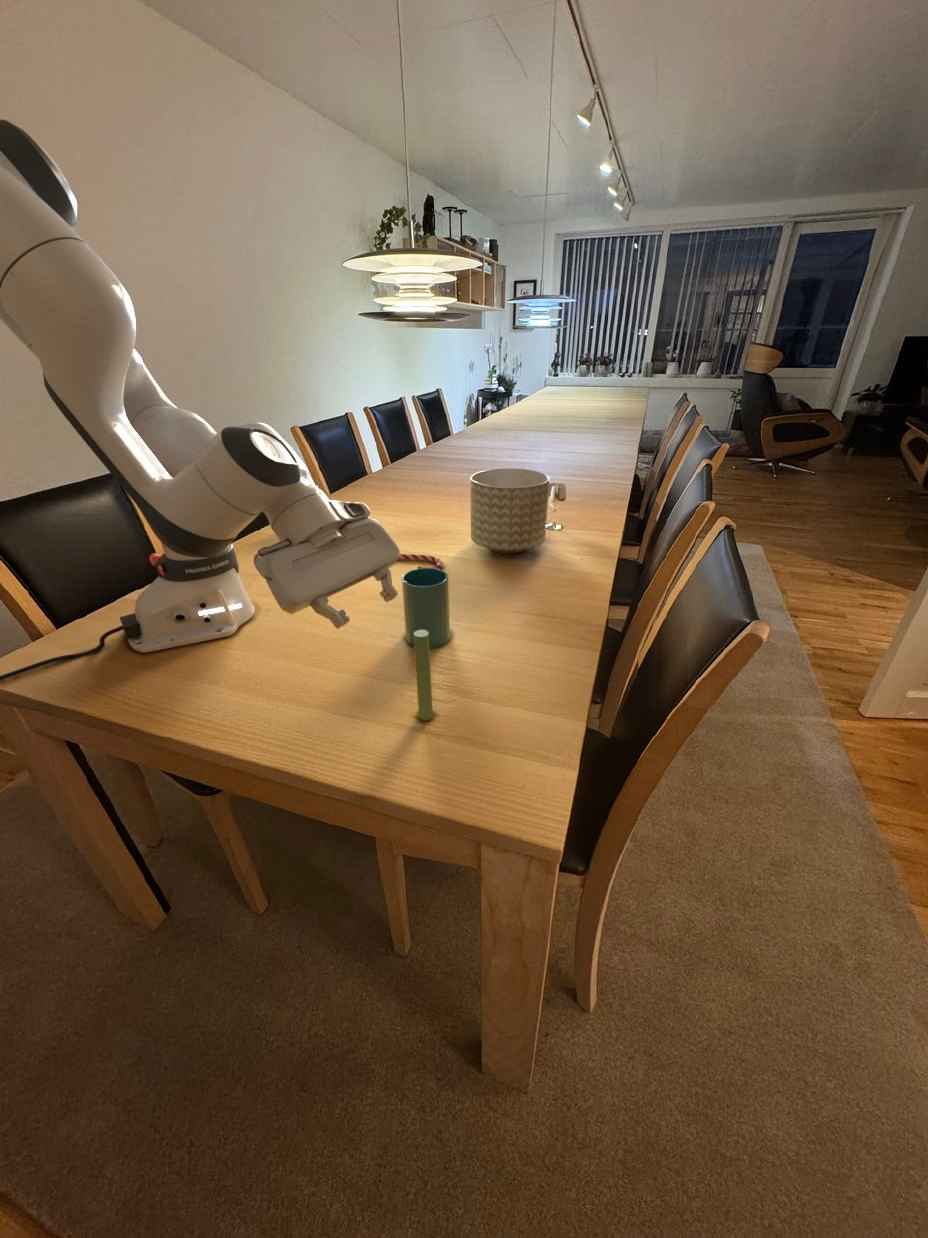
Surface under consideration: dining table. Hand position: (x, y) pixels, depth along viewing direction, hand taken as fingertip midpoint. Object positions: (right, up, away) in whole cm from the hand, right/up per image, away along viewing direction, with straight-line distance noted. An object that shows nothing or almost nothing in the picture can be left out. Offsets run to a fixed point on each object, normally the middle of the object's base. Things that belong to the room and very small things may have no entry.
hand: (369, 611), depth 72 cm
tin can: (+7, -4, +23) cm, 24 cm away
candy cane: (+1, +12, +53) cm, 54 cm away
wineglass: (+39, +25, +76) cm, 89 cm away
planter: (+24, +17, +62) cm, 69 cm away
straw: (+8, -15, +3) cm, 17 cm away
